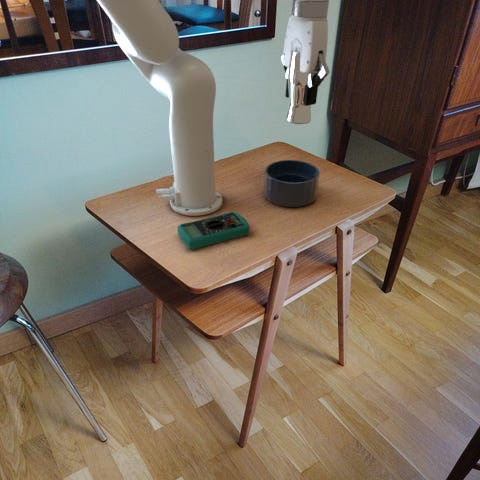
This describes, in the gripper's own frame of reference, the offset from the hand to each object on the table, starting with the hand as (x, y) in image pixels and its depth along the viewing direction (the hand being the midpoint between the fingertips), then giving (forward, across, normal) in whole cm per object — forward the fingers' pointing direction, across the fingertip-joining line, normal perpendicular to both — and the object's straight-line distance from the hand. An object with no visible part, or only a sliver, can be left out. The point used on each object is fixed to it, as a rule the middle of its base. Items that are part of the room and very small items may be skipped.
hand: (300, 99), depth 107 cm
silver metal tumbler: (+5, 0, 0) cm, 5 cm away
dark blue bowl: (+20, +8, -7) cm, 22 cm away
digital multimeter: (+20, +13, -32) cm, 40 cm away
